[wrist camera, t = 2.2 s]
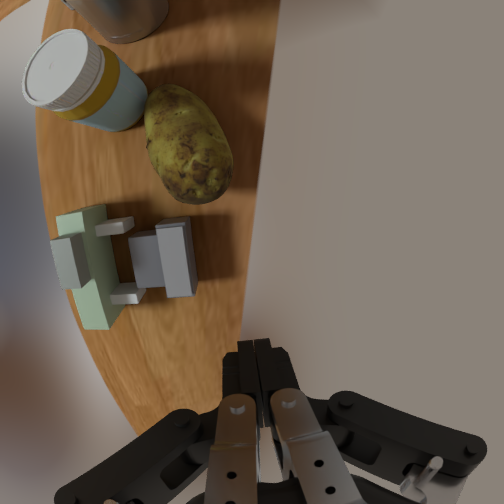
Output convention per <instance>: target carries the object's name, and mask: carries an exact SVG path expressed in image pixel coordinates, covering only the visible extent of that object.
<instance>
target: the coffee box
mask: <svg viewBox="0 0 504 504" xmlns="http://www.w3.org/2000/svg"><path fill="white" fill-rule="evenodd" d="M61 1H62V2H63V3H64V4H65V5H66V6H68V7H69V8H70V9H71V10H74V8H73V7H72V6H71V5H70V4H69V3H68V2H67V1H66V0H61Z"/></svg>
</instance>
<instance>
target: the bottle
mask: <svg viewBox="0 0 504 504" xmlns="http://www.w3.org/2000/svg"><path fill="white" fill-rule="evenodd" d="M22 91H23V94H24V97H25V99H26V100H27V101H28V102H29V103H30V104H32V105H34V106H37V107H40V108H44V109H48V110H52V111H53V112H54V113H55V114H56V115H57V116H59V117H60V118H63V119H66V120H69V121H73V122H77V123H81V124H84V125H88V126H92V127H95V128H99V129H102V130H106V131H110V132H120V131H123V130H126V129H128V128H130V127H132V126H133V125H135V124H136V123H137V122H138V121H139V120H140V118H141V117H142V116H143V114H144V105H145V102H146V99H147V97H148V90H147V88H146V86H145V84H144V83H143V81H142V80H141V79H140V78H139V77H138V76H137V75H136V74H135V73H134V72H133V71H132V70H131V69H130V68H129V67H128V66H127V65H126V64H125V63H124V62H123V61H122V60H121V59H120V58H119V57H118V56H117V55H116V54H115V53H114V52H112V51H111V50H110V49H108V48H107V47H105V46H102V45H97V44H96V43H95V42H94V41H93V40H92V39H90V38H89V37H88V36H87V35H86V34H85V33H84V32H82V31H79V30H76V29H66V30H62V31H59V32H57V33H55V34H53V35H52V36H50V37H49V38H48V39H46V40H45V41H44V42H43V43H42V44H41V45H40V46H39V47H38V48H37V49H36V51H35V52H34V53H33V55H32V56H31V58H30V60H29V62H28V63H27V65H26V68H25V71H24V74H23V79H22Z"/></svg>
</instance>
